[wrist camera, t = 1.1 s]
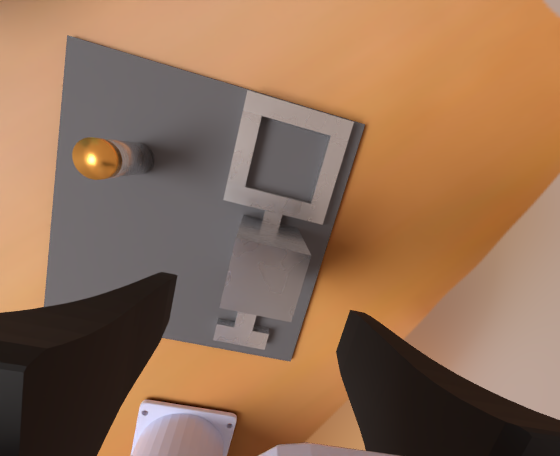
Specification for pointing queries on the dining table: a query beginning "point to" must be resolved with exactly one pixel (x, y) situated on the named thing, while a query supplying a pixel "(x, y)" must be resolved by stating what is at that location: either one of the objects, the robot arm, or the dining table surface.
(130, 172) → the pin
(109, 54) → the mat
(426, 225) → the dining table surface
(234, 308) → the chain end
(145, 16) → the dining table surface
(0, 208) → the dining table surface
